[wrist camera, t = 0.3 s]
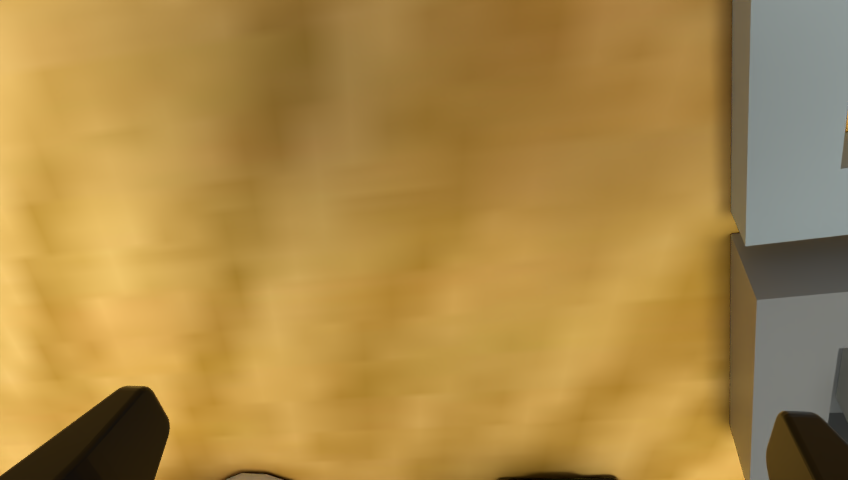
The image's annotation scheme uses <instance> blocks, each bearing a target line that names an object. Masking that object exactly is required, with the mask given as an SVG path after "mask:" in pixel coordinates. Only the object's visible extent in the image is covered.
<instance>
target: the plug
mask: <svg viewBox="0 0 848 480" xmlns="http://www.w3.org/2000/svg"><path fill="white" fill-rule="evenodd" d="M836 398H837V400H838V402H839V405H840V407H841V409H842V411H843V413H844V415H845V418H846V420H847V422H848V348H843V354H842V360H841V367H840V373H839V380H838V387H837V393H836Z"/></svg>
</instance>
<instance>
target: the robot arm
mask: <svg viewBox="0 0 848 480" xmlns="http://www.w3.org/2000/svg"><path fill="white" fill-rule="evenodd" d="M169 429H170V423H169V419H168V417H167V415H166V413H165V411H164V410H163V408H162V406H161V404H160V403H159V401H158V399H157V397H156V396H155V394H154V392H153V391H152V390H151V389H150V388H148V387H145V386H124V387H121V388H119V389H118V390H116V391H115V392H114V393H112V394H111V395H110V396H108V397H107V398H105V399H104V400H103V401H101V402H100V403H99V404H97V405H96V406H95V407H93V408H92V409H91V410H89V411H88V412H86V413H85V414H84V415H82V416H81V417H80V418H78V419H77V420H76V421H74V422H73V423H72V424H70V425H69V426H68V427H66V428H65V429H63V430H62V431H61V432H59V433H58V434H57V435H55V436H54V437H53V438H51V439H50V440H49V441H47V442H46V443H44V444H43V445H42V446H40V447H39V448H38V449H36V450H35V451H34V452H32V453H31V454H30V455H28V456H27V457H26V458H24V459H23V460H21V461H20V462H19V463H17V464H16V465H15V466H13V467H12V468H11V469H9V470H8V471H7V472H5V473H4V474H2V475H1V476H0V480H154V479H155V476H156V473H157V470H158V467H159V463H160V460H161V457H162V454H163V451H164V448H165V445H166V442H167V439H168V435H169ZM766 465H767V471H768V476H769V480H848V443H847V442H846V441H845V440H844V439H843V438H842V437H841V436H840V435H839V434H838V433H837V432H836V431H835V430H834V429H833V428H832V427H831V426H830V425H829V424H828V423H827V422H826V421H825V420H824V419H823V418H821V417H820V416H819V415H817V414H815V413H813V412H807V411H782V412H780V413H779V414H778V415H777V417H776V420H775V423H774V426H773V430H772V433H771V436H770V439H769V442H768V446H767V450H766ZM540 480H615V479H612V478H590V479H540Z"/></svg>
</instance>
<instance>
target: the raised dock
mask: <svg viewBox="0 0 848 480" xmlns="http://www.w3.org/2000/svg"><path fill="white" fill-rule="evenodd" d="M843 348H848V235H841V236H832V237H823V238H814V239H805V240H797V241H788V242H779V243H770V244H761V245H752V246H745V244H744V242H743V239H742V237H741V234H740V233H735V234H731V279H730V428H731V431H732V435H733V439H734V442H735V446H736V449H737V453H738V456H739V460H740V464H741V467H742V471H743V474H744V478H745V480H769V476H768V471H767V465H766V450H767V446H768V442H769V439H770V436H771V433H772V430H773V426H774V423H775V420H776V417H777V415H778V414H779V413H780V412H782V411H807V412H813V413H815V414H817V415H819V416H820V417H821V418H823V419H824V420H825V421H826V422H827V423H828V424H829V425H830V426H831V427H832V428H833V429H834V430H835V431H836V432H837V433H838V434H839V435H840V436H841V437H842V438H843V439H844V440H845V441H846V442H847V443H848V422H847V420H846V418H845V415H844V413H843V411H842V409H841V407H840V405H839V402H838V400H837V398H836V393H837V387H838V380H839V373H840V367H841V360H842V354H843Z"/></svg>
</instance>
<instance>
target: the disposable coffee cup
mask: <svg viewBox="0 0 848 480" xmlns="http://www.w3.org/2000/svg"><path fill="white" fill-rule="evenodd" d="M226 480H282V479H279V478H276V477H273V476H270V475H267V474H250V473H241V474H238V475H236V476H233V477H231V478H228V479H226Z"/></svg>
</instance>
